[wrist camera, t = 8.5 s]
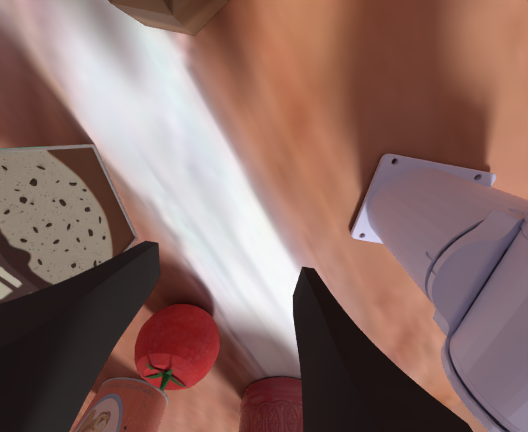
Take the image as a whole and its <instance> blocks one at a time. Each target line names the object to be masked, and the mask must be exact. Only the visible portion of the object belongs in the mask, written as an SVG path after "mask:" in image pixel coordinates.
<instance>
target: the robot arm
mask: <svg viewBox="0 0 528 432" xmlns="http://www.w3.org/2000/svg"><path fill="white" fill-rule="evenodd" d="M394 158H396V161H395V163H393V164H392V163H391V162H392V160H393V159H394ZM476 175H477V177H476V178H475V176H476ZM474 178H475V179H474ZM495 179H496V175H495V174H493V173H490V172H485V171H480V170H475V169H469V168H464V167H459V166H453V165H448V164H443V163H438V162H432V161H427V160H422V159H417V158H411V157H406V156H401V155H395V154H390V153H387V154H384V155H383V156H382V158H381V159H380V162H379V164H378V167H377V169H376V172H375V174H374V177H373V179H372V181H371V184H370V186H369V189H368V191H367V194H366V196H365V198H364V201H363V203H362V206H361V208H360V211H359V213H358V216H357V218H356V220H355V223H354V225H353V228H352V230H351V236H352V237H353V238H354V239H359V240H364V241H370V242H376V243H382V244H384V245H385V246H386V247H387V249H388V250H389V251H390V252H391V253H392V255H393V256H394V257H395V258H396V260H397V261H398V262H399V263H400V264H401V266H402V267H403V268H404V269H405V271H406V272H407V273H408V274H409V276H410V277H411V278H412V279H413V280H414V282H415V283H416V284H417V285H418V287H419V288H420V289H421V290H422V291H423V293H424V294H425V295H426V296H427V298H428V299H429V300H430V301H431V303H432V304H433V306H434V308H435V314H434V316H433V319H434V320H435V322H436V323H437V324H438V326H439V327H440V328H441V330H442V331H443V332H444V334H445V335H446V336H447V338H446V340H445V341H444V343H443V346H442V349H441V359H442V364H443V368H444V370H445V373H446V375H447V378H448V380H449V381H450V383H451V385H452V387H453V389H454V390H455V392H456V393H457V395H458V396H459V398H460V399H461V401H462V402H463V403H464V404H465V406H466V407H467V408H468V409H469V410H470V412H471V413H472V414H473V415H474V417H475V418H476V419H478V421H479V422H480V423H481V424H482V425H483V426H484V427H485V428H486V429H487V430H488V431H489V432H528V200H526V199H523V198H520V197H517V196H514V195H512V194H509V193H506V192H503V191H500V190H498V189H495V188H492V187H491V186H492V184H493V183H494V181H495ZM361 233H364V234H363V235H362V236H359V235H360V234H361ZM159 276H160V265H159V246H158V243H156V242H150V241H144V242H142V243H140V244H138V245H136V246H134V247H132V248H130V249H128V250H126V251H125V252H123V253H121V254H119V255H117V256H115V257H113V258H111V259H109V260H107V261H105V262H103V263H101V264H99V265H97V266H95V267H93V268H90V269H88V270H86V271H84V272H82V273H80V274H78V275H76V276H73V277H71V278H69V279H66V280H64V281H62V282H59V283H57V284H54V285H52V286H49V287H46V288H44V289H41V290H39V291H36V292H33V293H30V294H27V295H24V296H22V297H19V298H16V299H13V300H10V301H7V302H4V303H1V304H0V432H69V431H70V429H71V427H72V425H73V423H74V421H75V419H76V417H77V415H78V413H79V411H80V409H81V407H82V405H83V403H84V401H85V399H86V397H87V395H88V394H89V392H90V390H91V388H92V386H93V384H94V382H95V381H96V379H97V377H98V375H99V373H100V371H101V369H102V368H103V366H104V364H105V362H106V361H107V359H108V357H109V355H110V354H111V352H112V350H113V348H114V347H115V345H116V344H117V342H118V340H119V339H120V337H121V336H122V334H123V333H124V331H125V330H126V329H127V327H128V326H129V324H130V323H131V321H132V320H133V318H134V317H135V316H136V314H137V313H138V311H139V310H140V308H141V307H142V305H143V304H144V302H145V301H146V299H147V298H148V296H149V295H150V293H151V292H152V290H153V288H154V286H155V284H156V282H157V280H158V278H159ZM293 318H294V325H295V333H296V340H297V347H298V354H299V361H300V370H301V386H302V409H303V432H473V431H472V429H471V428H470V426H469V425H468V423H466V422H465V421H464V420H462V419H461V418H460V417H458V416H457V415H456V414H455V413H453V412H452V411H451V410H449V409H448V408H447V407H446V406H444V405H443V404H442V403H440V402H439V401H438V400H436V399H435V398H434V397H433V396H431V395H430V394H429V393H428V392H426V391H425V390H424V389H423V388H422V387H420V386H419V385H418V384H417V383H416V382H415V381H413V380H412V379H411V378H410V377H409V376H407V375H406V374H405V373H404V372H403V371H402V370H401V369H400V368H398V367H397V366H396V365H395V364H394V363H393V362H392V361H391V360H390V359H389V358H388V357H387V356H386V355H385V354H384V353H382V352H381V351H380V350H379V349H378V348H377V347H376V346H375V345H374V344H373V343H372V342H371V340H370V339H369V338H368V337H367V336H366V335H365V334H364V333H363V332H362V331H361V330H360V329H359V328H358V326H357V325H356V324H355V323H354V322H353V321H352V319H351V318H350V317H349V316H348V314H347V313H346V312H345V311H344V310H343V308H342V307H341V306H340V304H339V303H338V302H337V300H336V299H335V298H334V296H333V295H332V294H331V292H330V291H329V289H328V288H327V286H326V285H325V284H324V282H323V281H322V279H321V278H320V276H319V275H318V273H317V272H316V270H315V269H314V268H308V267H302V269H301V272H300V275H299V278H298V282H297V285H296V288H295V291H294V294H293Z"/></svg>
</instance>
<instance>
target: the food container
mask: <svg viewBox="0 0 528 432" xmlns="http://www.w3.org/2000/svg"><path fill="white" fill-rule="evenodd" d="M137 239H138V236H137V234H136V232H135V230H134V228H133V225H132V223H131V221H130V219H129V217H128V215H127V212H126V210H125V208H124V206H123V204H122V202H121V200H120V197H119V195H118V193H117V191H116V189H115V187H114V184H113V182H112V180H111V178H110V176H109V174H108V172H107V169H106V167H105V165H104V163H103V161H102V159H101V156H100V154H99V152H98V150H97V148H96V146H95V144H84V145H63V146H41V147H20V148H0V304H1V303H4V302H7V301H10V300H13V299H16V298H19V297H22V296H24V295H27V294H30V293H33V292H36V291H39V290H41V289H44V288H46V287H49V286H52V285H54V284H57V283H59V282H62V281H64V280H66V279H69V278H71V277H73V276H76V275H78V274H80V273H82V272H84V271H86V270H88V269H90V268H93V267H95V266H97V265H99V264H101V263H103V262H105V261H107V260H109V259H111V258H113V257H115V256H117V255H119V254H121V253H123V252H125V251H126V250H128V249H130V247H131V246H132V245H133V244H134V243H135V241H136V240H137Z"/></svg>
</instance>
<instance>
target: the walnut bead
mask: <svg viewBox="0 0 528 432" xmlns="http://www.w3.org/2000/svg"><path fill="white" fill-rule="evenodd" d="M108 1H109V2H110V3H111V4H113V5H114V6H116V7H117V8H119V9H120V10H122V11H123V12H125V13H127V14H128V15H130V16H131V17H133V18H134V19H136V20H137V21H139V22H140V23H142V24H143V25H145V26H149V27H154V28H159V29H164V30H169V31H173V32H178V33H183V34H188V35H193V36H195V35H196V34H197V33H198V32H199V31H200V30H201V29H202V28H203V27H204V26H205V25H206V24H207V23H208V22H209V21H210V20H211V19H212V18H213V17H214V16H215V15H216V13H217V12H218V11H219V10H220V9H221V8H222V7H223V6H224V5H225V4H226V3H227V2H228V1H229V0H108Z"/></svg>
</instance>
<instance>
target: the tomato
mask: <svg viewBox="0 0 528 432" xmlns="http://www.w3.org/2000/svg"><path fill="white" fill-rule="evenodd" d="M219 349H220V339H219V331H218V328H217V325H216V323H215V321H214V319H213V318H212V317H211V316H210V314H208V313H207V312H206V311H204V310H203V309H201V308H199V307H197V306H194V305H189V304H175V305H170V306H168V307H166V308H164V309H162V310H160V311H158V312H156V313H155V314H153V315H152V316H151V317H150V319H149V320H148V321H147V322H146V323H145V324H144V325H143V326H142V328H141V330H140V332H139V334H138V337H137V340H136V344H135V364H136V368H137V371H138V373H139V374H140V376H139V377H142V378H143V379H145V380H146V381H147V382H149V383H150V384H152V385H154V386H156V387H158V388H160V390H162V389H163V390H164V389H166V390H180V389H186V388H190V387H192V386H194V385H195V384H196V383H198V382H199V381H200V380H201V379H203V378H204V377H205V375H206V374H207V373H208V372H209V371H210V369H211V368H212V366H213V364H214V362H215V361H216V359H217V356H218V352H219ZM163 390H162V391H163Z"/></svg>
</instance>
